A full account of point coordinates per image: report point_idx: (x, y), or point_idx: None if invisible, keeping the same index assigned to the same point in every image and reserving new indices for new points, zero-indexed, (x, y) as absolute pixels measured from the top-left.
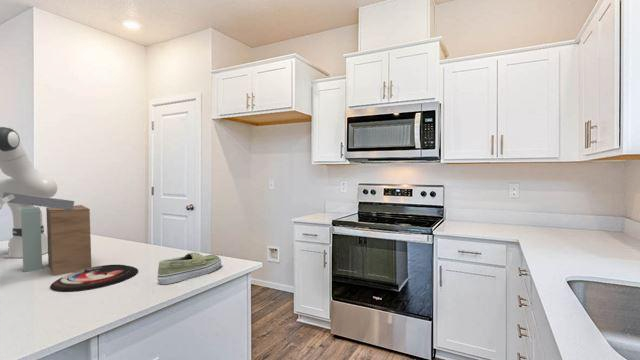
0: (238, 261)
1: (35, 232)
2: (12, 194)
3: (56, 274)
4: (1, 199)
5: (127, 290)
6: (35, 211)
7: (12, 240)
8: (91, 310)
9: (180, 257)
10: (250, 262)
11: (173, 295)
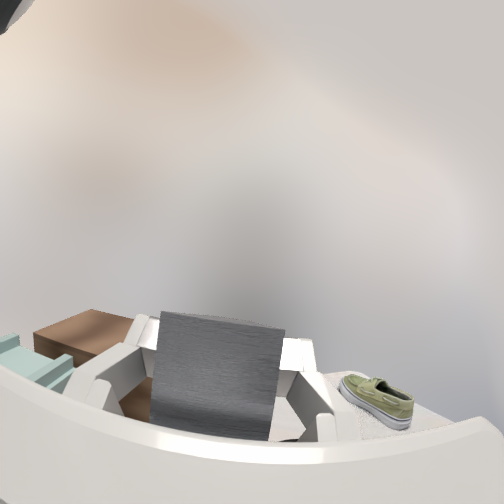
0: (336, 375)
1: None
2: (284, 337)
3: None
4: (353, 415)
5: None
6: (68, 378)
7: None
8: None
9: (377, 390)
10: (347, 372)
11: (446, 421)
